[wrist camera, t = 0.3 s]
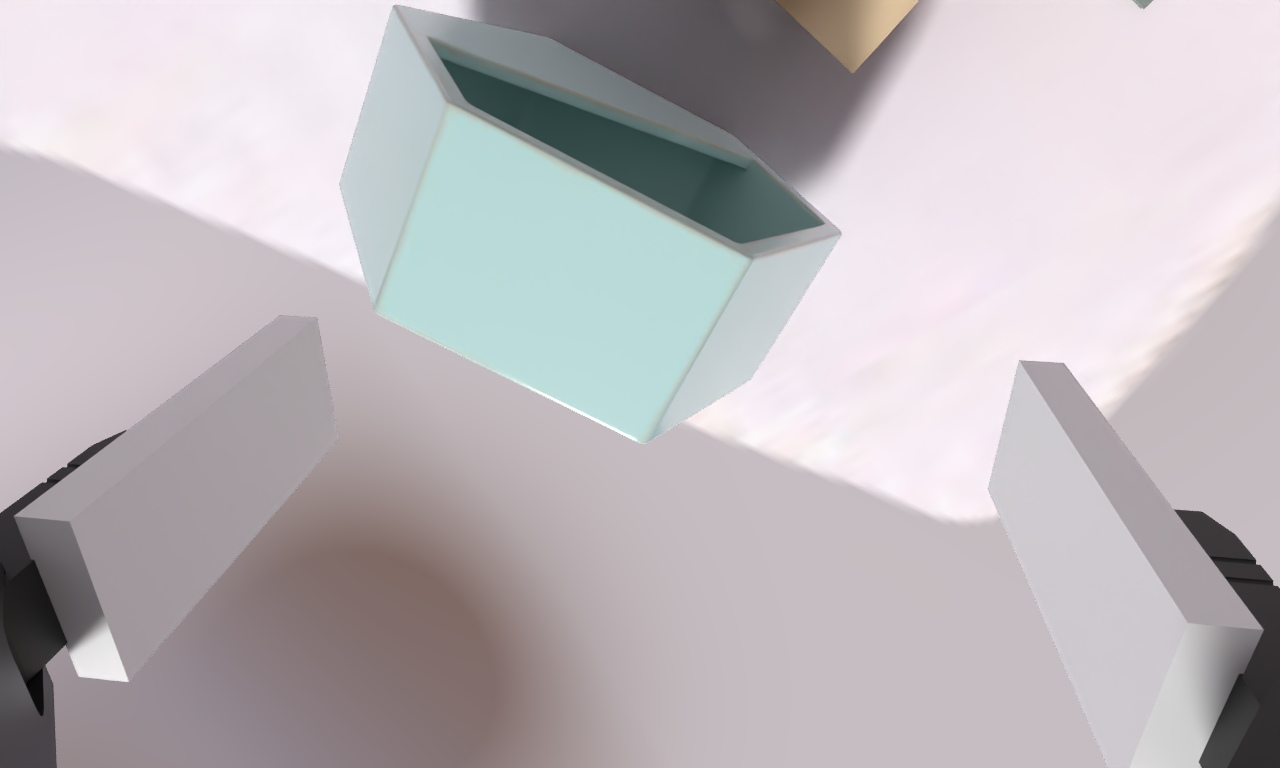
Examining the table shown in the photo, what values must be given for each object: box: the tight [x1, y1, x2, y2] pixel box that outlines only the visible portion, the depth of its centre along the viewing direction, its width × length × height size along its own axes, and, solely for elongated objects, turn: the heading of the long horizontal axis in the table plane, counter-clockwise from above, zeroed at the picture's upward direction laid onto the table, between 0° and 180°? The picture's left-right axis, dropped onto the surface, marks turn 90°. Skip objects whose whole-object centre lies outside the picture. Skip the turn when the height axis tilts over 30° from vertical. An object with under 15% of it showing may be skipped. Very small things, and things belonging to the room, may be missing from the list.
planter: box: [339, 5, 842, 444], centre depth 34 cm, size 17×8×21 cm
